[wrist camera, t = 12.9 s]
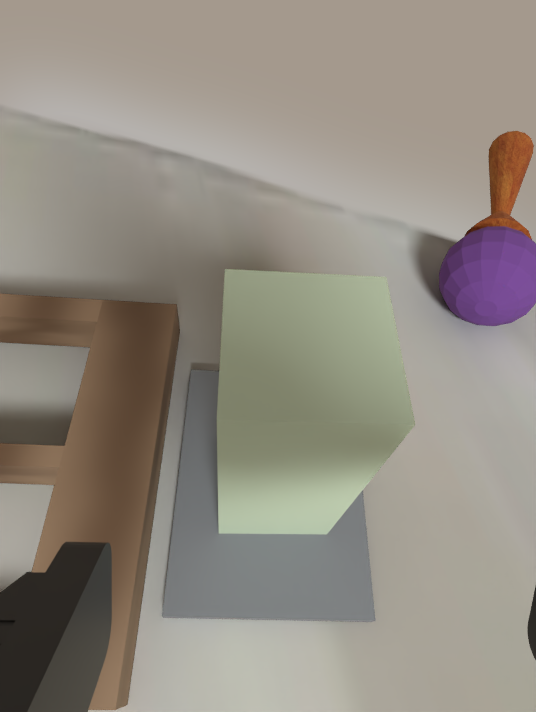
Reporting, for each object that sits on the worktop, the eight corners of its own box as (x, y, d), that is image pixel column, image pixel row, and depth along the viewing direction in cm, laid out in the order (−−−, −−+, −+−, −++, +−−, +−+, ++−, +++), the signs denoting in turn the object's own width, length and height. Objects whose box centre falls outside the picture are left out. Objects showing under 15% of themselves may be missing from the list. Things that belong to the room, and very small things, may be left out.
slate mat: (163, 617, 20) (161, 616, 20) (191, 375, 27) (190, 369, 26) (371, 621, 21) (375, 620, 20) (349, 383, 27) (351, 378, 27)
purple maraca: (570, 136, 37) (572, 301, 25) (516, 197, 42) (496, 359, 30) (503, 99, 37) (472, 247, 25) (457, 165, 42) (412, 314, 30)
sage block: (218, 533, 22) (216, 419, 12) (223, 432, 24) (224, 268, 14) (326, 534, 22) (414, 424, 12) (319, 434, 25) (386, 277, 15)
